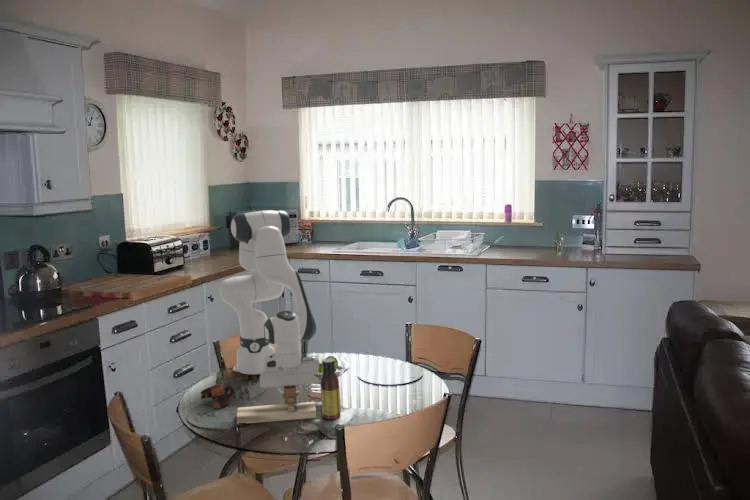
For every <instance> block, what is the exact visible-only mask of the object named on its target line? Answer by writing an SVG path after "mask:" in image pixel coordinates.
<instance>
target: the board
mask: <svg viewBox="0 0 750 500" xmlns="http://www.w3.org/2000/svg"><path fill="white" fill-rule="evenodd" d="M306 419H317V408H316V403H315V401H306V402H297V403H294V412H288V404H285V403H279V404H278V403H277V404H269V405H267V404H266V405H255V406H243V407H241V406H240V407H237V413H236V425H240V424H239V423H246V424H257V423H268V422H270V423H271V422H279V421H280V422H282V421H291V420H306Z"/></svg>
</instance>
